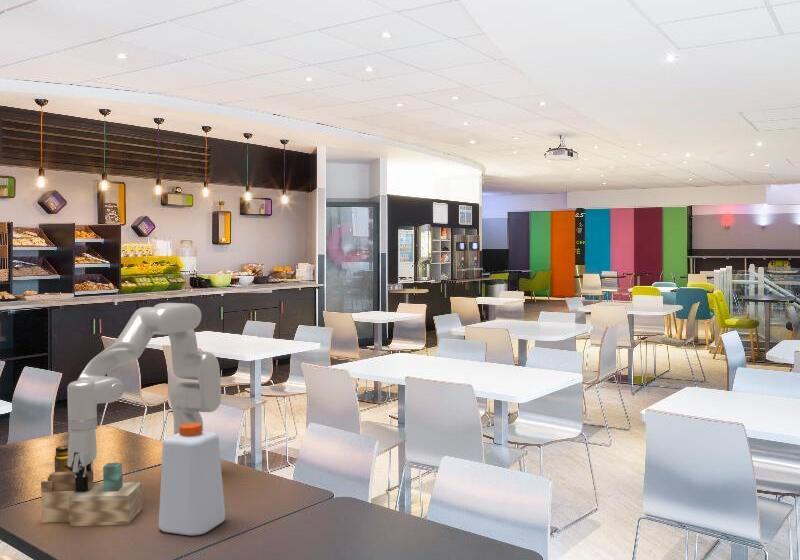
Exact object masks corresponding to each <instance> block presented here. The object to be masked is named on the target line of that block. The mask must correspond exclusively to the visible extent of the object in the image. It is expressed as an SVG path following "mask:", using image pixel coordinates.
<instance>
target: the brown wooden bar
mask: <svg viewBox="0 0 800 560" xmlns="http://www.w3.org/2000/svg"><path fill="white" fill-rule="evenodd" d="M86 476H88V490H90V489H91V488H92V487H93V483H94V470H93V471H86ZM48 477H49V481H53V491H68V490H76V485H75V473H73V472H55V471H53V472H52V473H50V474H49V476H48Z"/></svg>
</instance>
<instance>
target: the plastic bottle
mask: <svg viewBox="0 0 800 560" xmlns="http://www.w3.org/2000/svg"><path fill="white" fill-rule="evenodd" d="M219 439H220V438H219V435H218V434H217V433H216V432H211V431H204V430H203V431H202V425H201V424H199V423H187V424H183V425H181V426H180V427H179V433H177V434H175V435H174V434H172V435H170V436H168V437H166V438H165V439H163V442H162V451H161V469H160V470H161V471H160V474H161V475H160V476H161V477H160V490H159V491H160V492H159V509H158V510H159V511H158V515H159V516H158V528H159V530H160V531H162V532H164V533H168V534H175V535H182V536H183V535H185V536H193V537H194V536H201V535H203V534H206V533H207V532H209V531H211V530H213V529H214V528H216V527H218V526H219V525H221V524H222V523H223V522H224V521H225V520H226V509H225V497H224V496H225V495H224V487H223V486H224V485H223V476H222V473H223V472H222V463H221V453H220V441H219Z"/></svg>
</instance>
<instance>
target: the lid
mask: <svg viewBox="0 0 800 560" xmlns="http://www.w3.org/2000/svg"><path fill="white" fill-rule="evenodd" d="M102 472H103V473H102V476H103V477H102V478H103V479H102V480H103V482H99V483H98V482H95V483H94V482H93V487H92V488H91V489H90V490H87V491H76V492H74V493H73V494H72V495H71V496H70V497H69V501H99V500H128V499H129V498H130V497H131V496H132V495H133V494H134V493H135V492H136V491H137V490H138V489H139V488H140V487H141V488H142V482H141V481H138V482H137V481H136V482H130V481H129V482H124V481H123V462H107V463H106V464H105V465H103V466H102Z"/></svg>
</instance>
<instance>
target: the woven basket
mask: <svg viewBox="0 0 800 560" xmlns="http://www.w3.org/2000/svg"><path fill="white" fill-rule="evenodd" d="M40 491H41V493H40V495H41V497H40V499H41V500H40V501H41V523H69V527H88V526H89V527H91V526H95V527H97V526H125V525H127V526H128V525H130V524H131V523H132V522H133V520H134V519H136V517H137V515H139V514H140V512H142V486H141V487H140V488H139V489H138V490H137V491H136V492H135V493H134V494H133V495H132V496H131V497H130V498H129V499H128V500H99V501H69V497H70V496H71V495H72V494H73V493H74V492H76V490H68V491H53V481H49V476H48V477H47V480H46V481H40Z"/></svg>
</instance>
